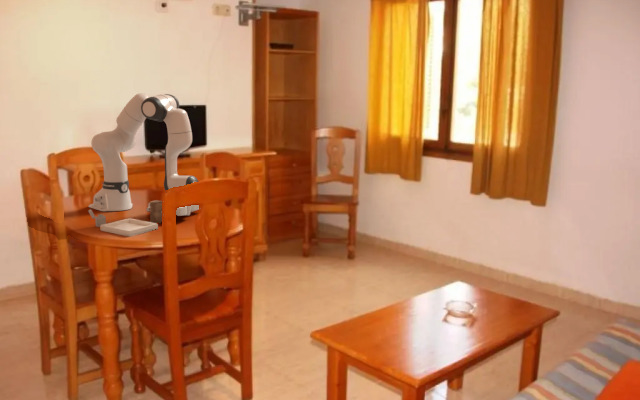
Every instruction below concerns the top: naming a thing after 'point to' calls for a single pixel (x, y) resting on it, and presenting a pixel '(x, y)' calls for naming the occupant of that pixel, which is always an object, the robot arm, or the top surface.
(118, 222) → the tray
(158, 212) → the walnut block
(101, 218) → the lighter
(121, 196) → the robot arm
